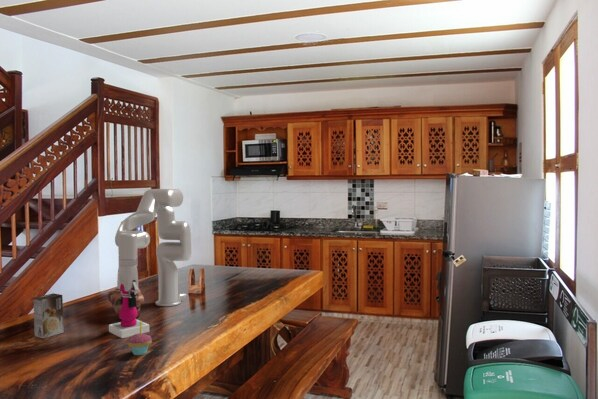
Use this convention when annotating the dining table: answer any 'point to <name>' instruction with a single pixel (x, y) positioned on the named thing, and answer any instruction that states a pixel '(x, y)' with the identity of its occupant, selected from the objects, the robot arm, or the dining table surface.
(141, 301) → the decorative planter
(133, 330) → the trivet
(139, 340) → the cupcake
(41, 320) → the coffee box
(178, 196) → the robot arm
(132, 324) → the pepper mill
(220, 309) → the dining table surface
